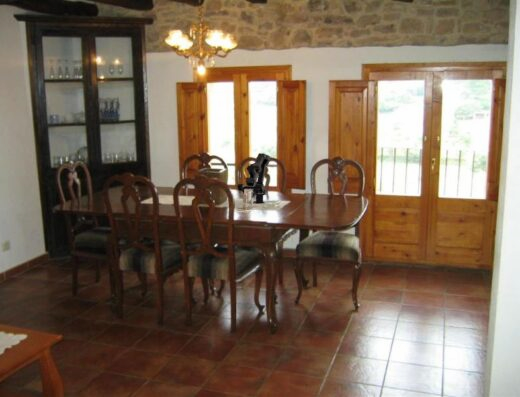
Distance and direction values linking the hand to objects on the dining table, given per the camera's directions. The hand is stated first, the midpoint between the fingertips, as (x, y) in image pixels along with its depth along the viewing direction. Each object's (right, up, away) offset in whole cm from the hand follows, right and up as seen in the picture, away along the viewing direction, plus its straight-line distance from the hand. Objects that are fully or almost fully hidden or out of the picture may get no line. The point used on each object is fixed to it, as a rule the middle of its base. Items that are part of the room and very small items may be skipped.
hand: (248, 197), depth 397 cm
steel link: (0, -6, +3) cm, 7 cm away
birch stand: (-2, -10, -6) cm, 12 cm away
